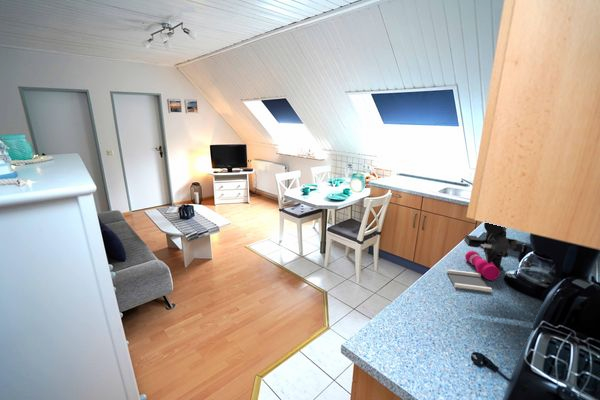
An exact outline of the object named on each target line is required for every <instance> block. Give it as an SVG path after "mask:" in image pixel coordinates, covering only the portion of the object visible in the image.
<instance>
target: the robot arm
mask: <svg viewBox="0 0 600 400" xmlns="http://www.w3.org/2000/svg"><path fill="white" fill-rule="evenodd" d="M483 226H484V229H485V230H486V231H485V235H483V238H484V239H481V238H479V237H478V236H477V235H470V234H469V235H468V234H467V235H466V236H464V239H463V242H464V243H465V244H466V245H467V246H468V247H471V248H479V247H481V248H482V249H483V253H484V254H485V255H484V256H485V260H487V263H491V262H492V263H493V264H494V265H495V266H496V267H497V268H498V269H499V270H504V267H503V266H502V265H501V264H502V260H503V258H505V259H506V258H509V255H510V250H512V251H513V252H520V253H523V252H524V248H525V247H524V245H523V243H521V242H520V241H518V240H517V239H512V238H508V237H507V230H508V227H507V228H505V227H501V226H497V225H493V224H489V223H485V222H484V225H483Z"/></svg>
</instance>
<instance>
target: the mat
mask: <svg viewBox="0 0 600 400" xmlns="http://www.w3.org/2000/svg"><path fill="white" fill-rule="evenodd" d="M446 274H447V276H448V279H449V280H450V283H451V284H452V286H453V287H454V289H458V290H465V291H466V290H467V291H474V292H479V293H486V294H489V293H490V294H491V293H492V291H493V289H492V287H490V286H487V285H488V284H486V282H485V281H484V279H483V278H482V275H481V274H480V273H478V272H472V271H462V270H455V269H454V270H453V269H447V270H446Z"/></svg>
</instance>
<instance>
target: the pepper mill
mask: <svg viewBox="0 0 600 400" xmlns="http://www.w3.org/2000/svg"><path fill="white" fill-rule="evenodd" d="M464 258H465V260H466V262H468V263H470V264H471V265H473V266H475V270H476V273H480V274H481V277H484V278H485V279H486V280H490V281H492V280H495V279H497V278H498V277H499V275H500V269H498V268H497V267H496V266H495V265H494V264H493V263H492V262H491V263H487V260H486V259H483V257H482V256H481V255H480V254H479V252H477V251H476V250H475V251H474V250H469V251H467V252H466V254H465V257H464Z"/></svg>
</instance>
